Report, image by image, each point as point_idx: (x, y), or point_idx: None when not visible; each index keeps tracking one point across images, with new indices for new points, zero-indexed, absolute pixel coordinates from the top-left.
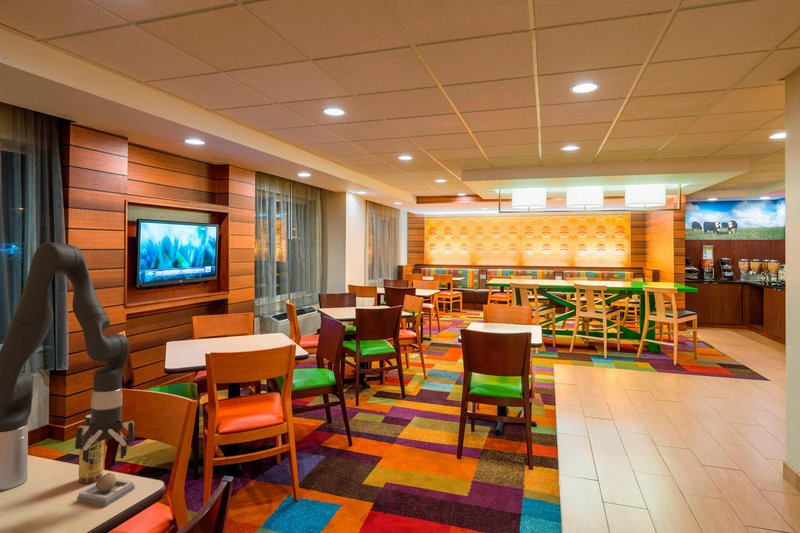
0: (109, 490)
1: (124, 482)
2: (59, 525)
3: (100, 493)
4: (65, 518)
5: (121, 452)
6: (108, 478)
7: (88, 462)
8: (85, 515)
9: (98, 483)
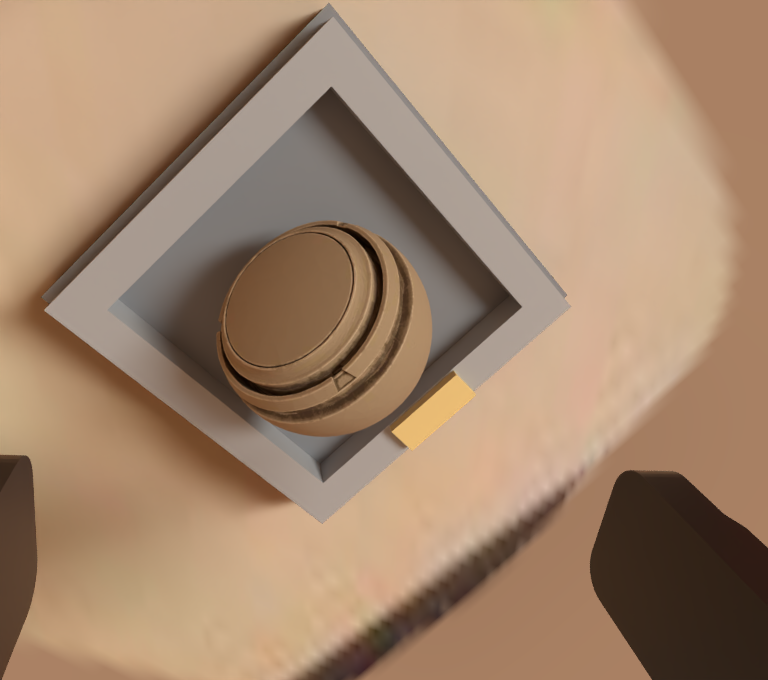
0: None
1: (495, 274)
2: None
3: None
4: None
5: (666, 677)
6: (357, 428)
7: (36, 569)
8: (173, 556)
9: (247, 405)
